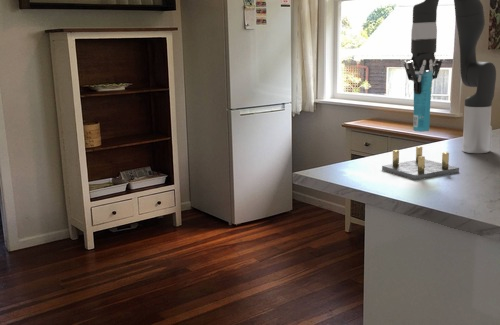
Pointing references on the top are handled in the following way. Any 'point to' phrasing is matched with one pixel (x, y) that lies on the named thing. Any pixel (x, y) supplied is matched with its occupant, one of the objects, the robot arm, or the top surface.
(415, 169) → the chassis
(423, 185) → the top surface
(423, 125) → the tube
